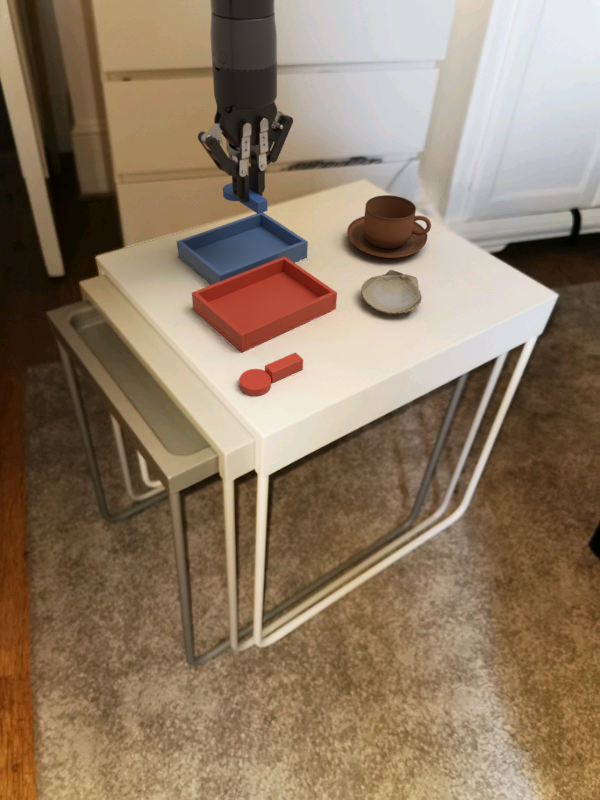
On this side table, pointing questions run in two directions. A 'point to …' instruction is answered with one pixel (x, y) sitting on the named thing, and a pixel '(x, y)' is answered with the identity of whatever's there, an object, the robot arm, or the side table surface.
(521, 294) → the side table surface
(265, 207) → the blue spoon
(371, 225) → the cup and saucer
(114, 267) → the side table surface
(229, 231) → the blue tray
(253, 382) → the red spoon
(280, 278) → the red tray
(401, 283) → the seashell
